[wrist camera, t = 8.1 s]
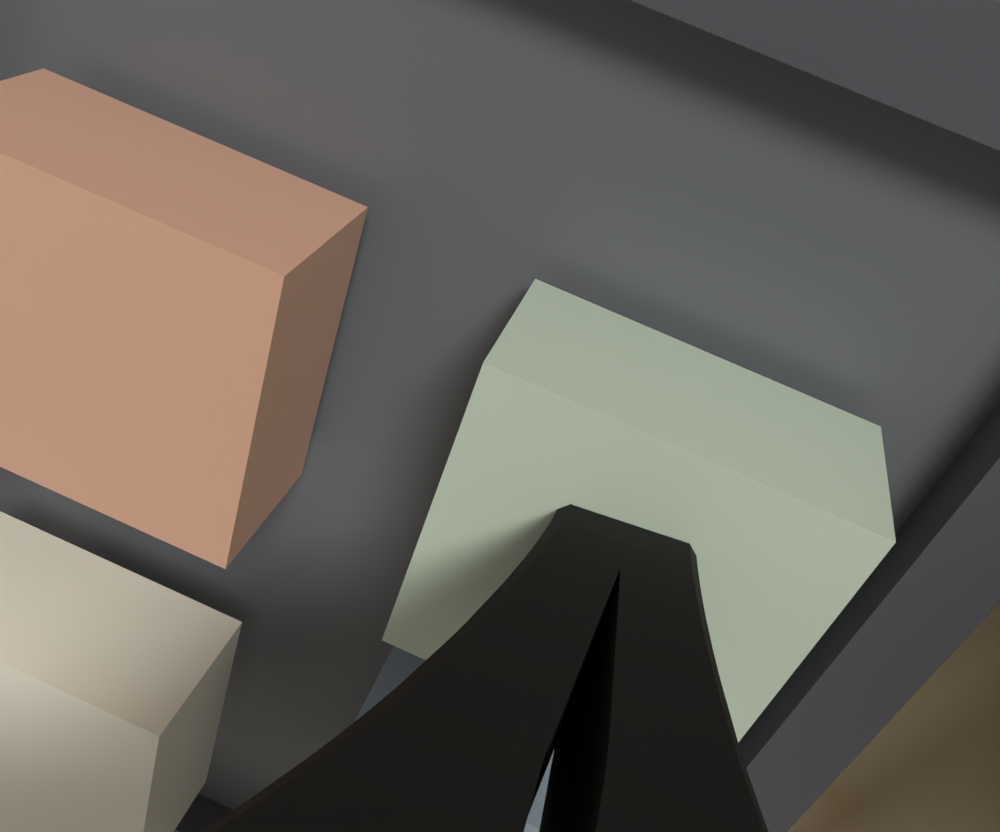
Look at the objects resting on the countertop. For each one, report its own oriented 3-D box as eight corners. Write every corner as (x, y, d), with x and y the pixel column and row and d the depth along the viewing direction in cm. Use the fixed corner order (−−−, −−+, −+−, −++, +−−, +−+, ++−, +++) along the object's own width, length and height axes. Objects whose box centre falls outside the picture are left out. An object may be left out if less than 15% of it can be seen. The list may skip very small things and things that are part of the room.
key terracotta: (367, 207, 10) (283, 276, 9) (301, 474, 12) (225, 569, 11) (43, 68, 10) (-98, 109, 9) (36, 355, 13) (-78, 431, 11)
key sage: (880, 426, 10) (895, 541, 8) (717, 659, 12) (703, 786, 11) (535, 278, 10) (482, 363, 8) (438, 535, 12) (381, 641, 11)
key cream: (242, 621, 13) (159, 736, 11) (206, 781, 15) (133, 895, 13) (-17, 503, 13) (-135, 599, 11) (-14, 678, 15) (-112, 778, 14)
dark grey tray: (1294, 103, 9) (1405, 163, 7) (601, 948, 19) (582, 1052, 17) (-18, -417, 10) (-188, -473, 8) (-7, 663, 20) (-81, 737, 18)
